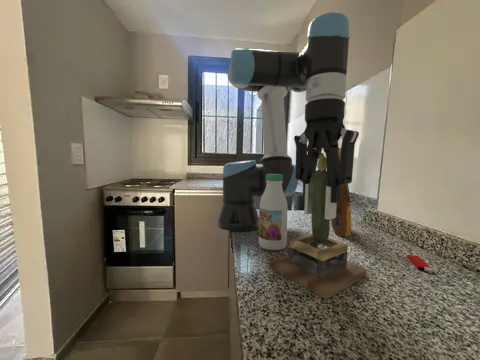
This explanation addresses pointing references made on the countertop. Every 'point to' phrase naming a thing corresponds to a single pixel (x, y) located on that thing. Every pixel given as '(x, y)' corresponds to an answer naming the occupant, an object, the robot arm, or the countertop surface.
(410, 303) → the countertop surface
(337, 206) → the pancake mix bag
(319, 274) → the collar stand
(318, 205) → the vegetable
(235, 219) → the robot arm
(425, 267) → the lighter
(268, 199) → the milk bottle
